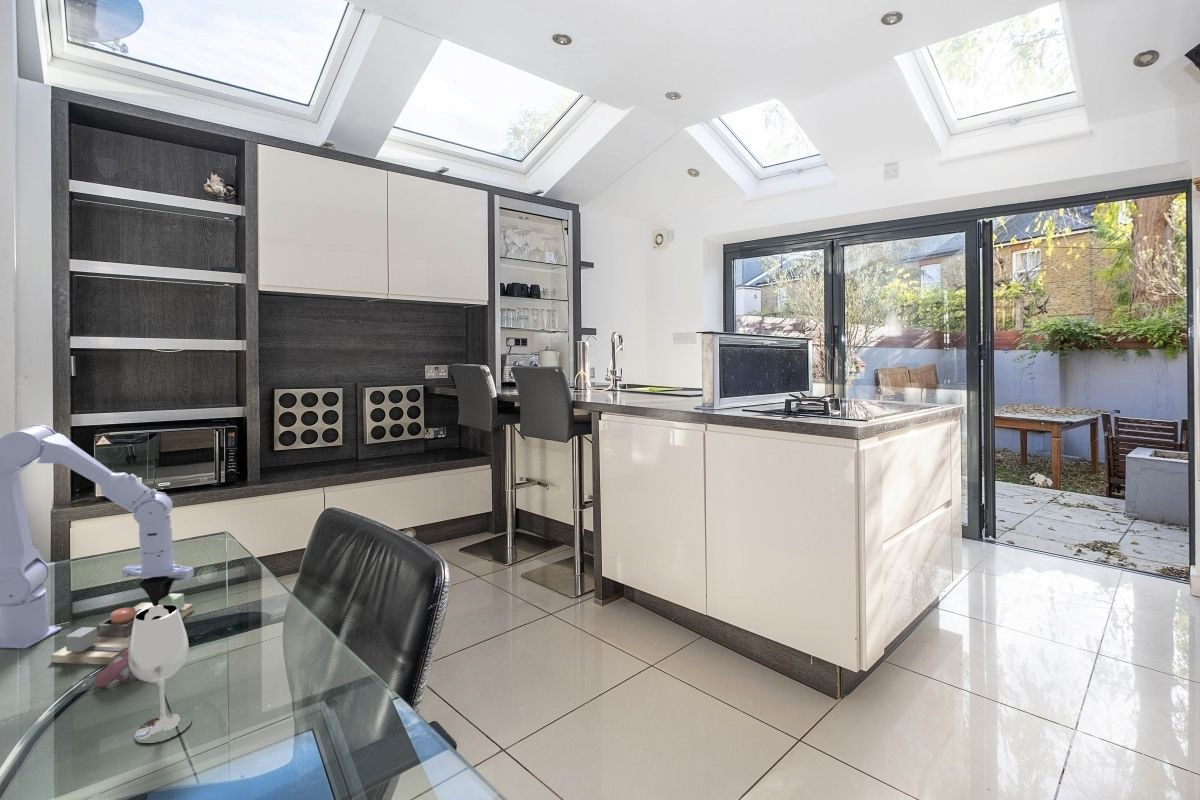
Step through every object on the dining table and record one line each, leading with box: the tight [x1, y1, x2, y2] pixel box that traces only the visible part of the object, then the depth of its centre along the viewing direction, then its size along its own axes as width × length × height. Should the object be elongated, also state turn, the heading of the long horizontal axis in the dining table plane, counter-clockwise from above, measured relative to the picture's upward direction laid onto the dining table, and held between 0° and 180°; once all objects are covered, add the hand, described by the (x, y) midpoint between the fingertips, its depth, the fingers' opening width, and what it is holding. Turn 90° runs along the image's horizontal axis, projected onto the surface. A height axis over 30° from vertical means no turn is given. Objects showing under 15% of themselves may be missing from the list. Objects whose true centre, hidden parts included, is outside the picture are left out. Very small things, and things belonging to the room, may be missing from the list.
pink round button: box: [110, 606, 136, 625], centre depth 122 cm, size 4×4×2 cm
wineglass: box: [128, 604, 190, 740], centre depth 94 cm, size 8×8×20 cm
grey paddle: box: [64, 626, 98, 652], centre depth 114 cm, size 3×4×3 cm
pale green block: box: [159, 593, 186, 610], centre depth 129 cm, size 3×4×3 cm
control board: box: [50, 602, 195, 665], centre depth 123 cm, size 12×22×4 cm, turn 179°
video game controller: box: [93, 649, 133, 688], centre depth 109 cm, size 10×5×7 cm
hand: (160, 607), depth 130 cm, fingers closed
